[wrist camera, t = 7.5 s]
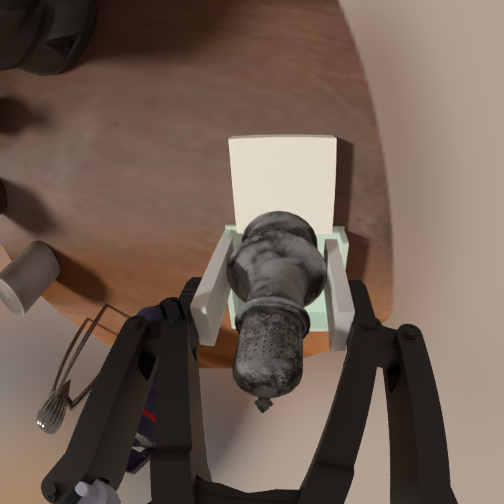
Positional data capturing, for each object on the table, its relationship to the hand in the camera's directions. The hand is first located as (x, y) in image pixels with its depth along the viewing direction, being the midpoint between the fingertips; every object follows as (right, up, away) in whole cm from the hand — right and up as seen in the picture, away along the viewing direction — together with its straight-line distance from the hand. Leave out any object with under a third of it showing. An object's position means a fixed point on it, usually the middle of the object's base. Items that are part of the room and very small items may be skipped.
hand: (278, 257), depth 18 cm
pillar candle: (-46, -1, +29) cm, 55 cm away
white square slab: (+2, +9, +16) cm, 18 cm away
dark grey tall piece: (0, +1, +1) cm, 2 cm away
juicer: (-36, -15, +36) cm, 53 cm away
